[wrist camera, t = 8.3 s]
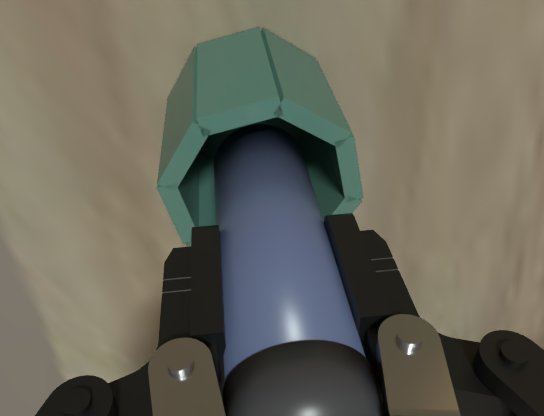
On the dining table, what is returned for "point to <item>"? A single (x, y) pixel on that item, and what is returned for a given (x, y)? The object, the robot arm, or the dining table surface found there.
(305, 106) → the pen cup
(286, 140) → the marker
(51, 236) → the dining table surface
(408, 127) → the dining table surface
